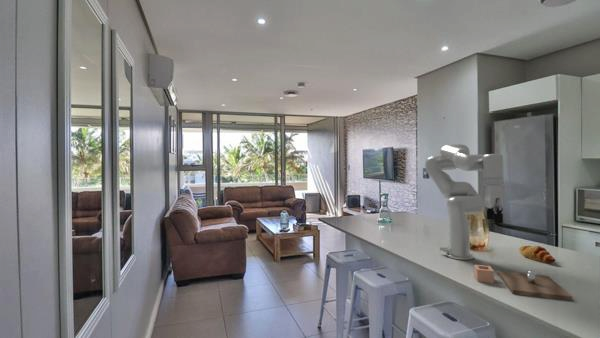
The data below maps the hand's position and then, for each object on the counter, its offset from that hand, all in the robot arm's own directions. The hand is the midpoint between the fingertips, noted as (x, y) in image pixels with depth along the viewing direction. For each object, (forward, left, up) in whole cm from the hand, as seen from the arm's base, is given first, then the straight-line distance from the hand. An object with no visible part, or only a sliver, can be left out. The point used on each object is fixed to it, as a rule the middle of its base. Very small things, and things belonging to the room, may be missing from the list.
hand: (494, 221), depth 130 cm
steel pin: (+10, -9, -22) cm, 26 cm away
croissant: (+25, +31, -24) cm, 46 cm away
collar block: (-6, -7, -24) cm, 26 cm away
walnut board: (+10, -9, -24) cm, 28 cm away
